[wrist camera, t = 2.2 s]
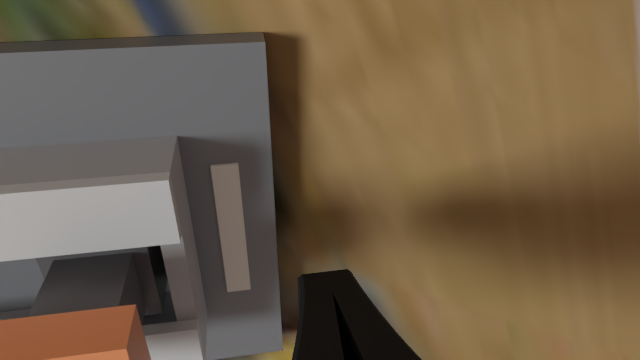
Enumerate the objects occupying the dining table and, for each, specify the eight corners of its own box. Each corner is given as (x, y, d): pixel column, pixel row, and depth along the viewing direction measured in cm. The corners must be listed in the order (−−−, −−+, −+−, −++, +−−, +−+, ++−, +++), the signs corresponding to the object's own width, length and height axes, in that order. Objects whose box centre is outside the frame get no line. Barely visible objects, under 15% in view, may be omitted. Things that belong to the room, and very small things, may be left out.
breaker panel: (280, 330, 19) (290, 406, 17) (-163, 388, 17) (-241, 488, 14) (262, 32, 13) (273, 71, 10) (-441, 60, 11) (-681, 121, 8)
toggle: (175, 277, 16) (154, 440, 11) (72, 289, 15) (6, 464, 11) (158, 197, 14) (126, 348, 9) (42, 207, 14) (-52, 372, 9)
